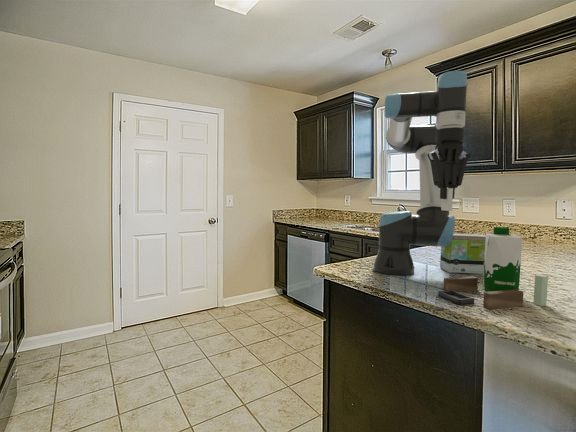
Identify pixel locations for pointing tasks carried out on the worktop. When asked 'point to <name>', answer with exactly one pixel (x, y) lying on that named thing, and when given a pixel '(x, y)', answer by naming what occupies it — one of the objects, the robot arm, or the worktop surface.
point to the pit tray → (456, 297)
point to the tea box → (464, 254)
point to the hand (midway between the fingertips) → (446, 210)
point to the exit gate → (538, 289)
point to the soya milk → (502, 260)
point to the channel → (490, 298)
